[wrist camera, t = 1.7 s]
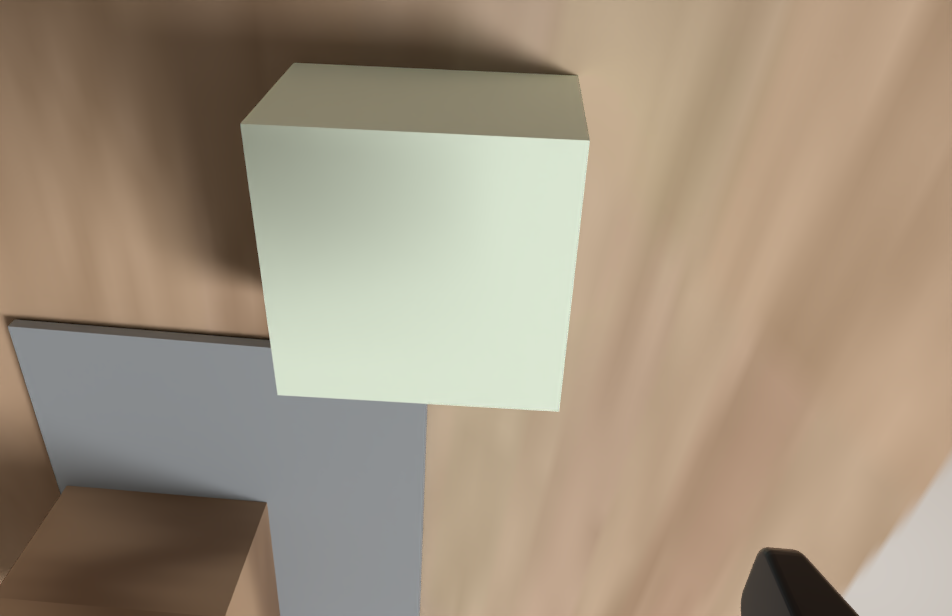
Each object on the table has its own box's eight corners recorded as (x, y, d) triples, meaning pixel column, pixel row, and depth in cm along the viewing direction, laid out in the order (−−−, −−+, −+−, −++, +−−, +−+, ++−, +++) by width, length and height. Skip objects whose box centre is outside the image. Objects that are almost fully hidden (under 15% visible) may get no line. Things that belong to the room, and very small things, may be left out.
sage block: (577, 72, 15) (589, 140, 12) (554, 310, 18) (559, 411, 15) (296, 59, 15) (239, 124, 12) (318, 297, 18) (277, 395, 15)
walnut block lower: (267, 502, 22) (224, 617, 19) (281, 626, 25) (247, 743, 22) (66, 485, 22) (-8, 597, 19) (105, 611, 25) (46, 725, 22)
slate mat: (429, 352, 19) (428, 360, 19) (418, 653, 25) (417, 662, 25) (14, 319, 19) (7, 326, 19) (109, 627, 26) (105, 635, 25)
